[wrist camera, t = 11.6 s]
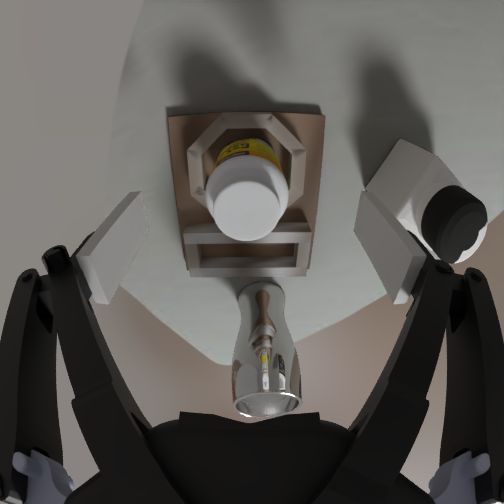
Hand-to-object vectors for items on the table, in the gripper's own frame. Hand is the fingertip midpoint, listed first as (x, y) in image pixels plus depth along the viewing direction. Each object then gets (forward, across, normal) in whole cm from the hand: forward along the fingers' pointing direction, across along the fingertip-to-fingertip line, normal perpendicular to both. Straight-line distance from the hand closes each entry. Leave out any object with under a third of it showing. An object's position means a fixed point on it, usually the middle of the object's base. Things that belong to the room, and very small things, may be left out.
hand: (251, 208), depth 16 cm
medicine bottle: (+12, +16, -1) cm, 20 cm away
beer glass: (+11, +1, -18) cm, 21 cm away
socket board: (+11, 0, -4) cm, 12 cm away
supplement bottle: (+10, 0, 0) cm, 10 cm away
